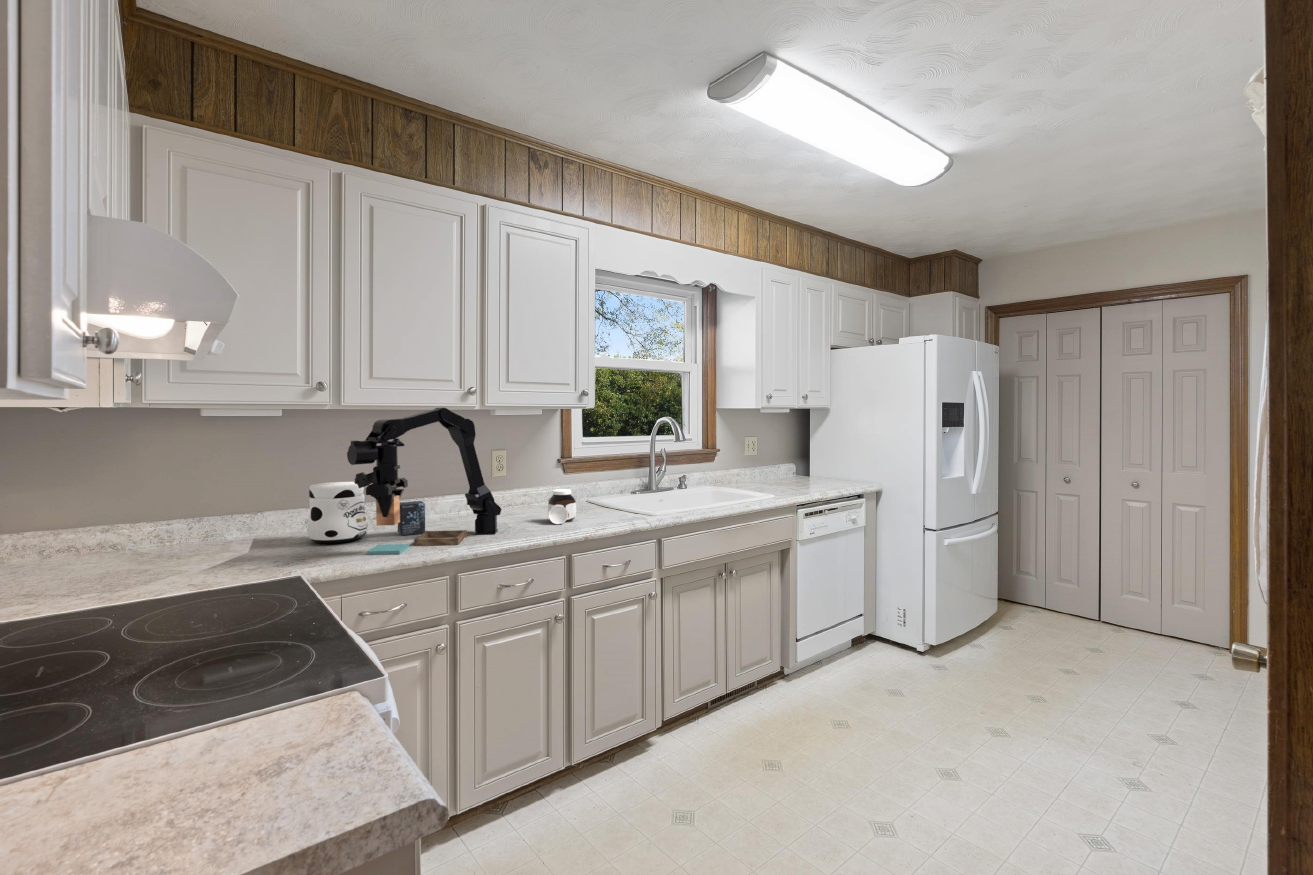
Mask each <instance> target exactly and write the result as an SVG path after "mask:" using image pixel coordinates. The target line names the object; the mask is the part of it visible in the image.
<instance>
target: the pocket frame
mask: <svg viewBox="0 0 1313 875" xmlns="http://www.w3.org/2000/svg"><path fill="white" fill-rule="evenodd" d="M466 536H467V537H468V531H467V530H466V529H463V530H461V529H459V530H425V532H424V533H423V534H419V535H418V536H417V537H415V538H414V542H413V543H414V547H418V546H419V547H420V546H423V545H426V546H458V545H460V544H461V543H462V542H463V541H464V540H465V539H466V538H467V537H466ZM431 537H432V538H431ZM433 537H437V538H433ZM465 537H466V538H465ZM464 538H465V539H464ZM463 539H464V540H463ZM423 547H424V546H423Z"/></svg>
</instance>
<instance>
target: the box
mask: <svg viewBox="0 0 1313 875" xmlns="http://www.w3.org/2000/svg"><path fill="white" fill-rule="evenodd" d="M425 531H426V503H425V502H424V501H422V500H417V501H416V500H415V501H404V502H401V501H400V522H399V523H397V533H398V535H399V536H400V537H403V536H411V535H412V536H413V535H421V534H423V533H424V532H425Z"/></svg>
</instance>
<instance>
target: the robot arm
mask: <svg viewBox="0 0 1313 875" xmlns="http://www.w3.org/2000/svg"><path fill="white" fill-rule="evenodd" d="M373 423H374V424H372V429H371V431H370V432H369V434H368V435H367V436H366V438H365V439H364V440H350V445H349V447H348V448H347V452H346V457H347V462H348V463H349V464H350V465H351V466H355V465H356V466H357V465H367V464H368V465H369V464H370V465H371V464H374V463H376V464H375V465H376V466H373V468H372V471H371V472H369V473H365V472H359V473H356V474H355V478H354V481H353V482H354V483H355V484H357V485H358V487H359V488H362V487H364V490H365V495H366V496H370V497H372V498H374V499H375V501H376V500H377V501H378V504H379V506H380V509H381V512H382V515H383V517H387V516H388V513H389V510H390V507H391V504H392V501H393V498H394V495H399V500H400V499H401V497H402V495H403V493H404V492H405V488H408V485H409V484H408V483H409V482H408V479H406V478H405V477H399V475H398V474H399V473H398V472H399V469H401V465H400V464H399V463H398V448H399V447H405V443H404V442H402V441H401V440H400V438H399V437H401V436H403V435H404V434H406V433H407V432H409V431H410V430H414V429H417V428H418V429H419V428H420V427H424V426H428V425H431V424H434V423H439V424H440V425H441V426H442V427H443V428H445V429H446V430H448V432H449V435H450V437H451V439H452V441H453V442H454V443H455V445H457V446H458V449H459V453H460V457H461V461H462V464H463V468H464V471H465V475H466V479H467V482H468V486H469V488H468V489H469V490H468V492H466V493H464V497H465V499H466V505H467V506H469V508H470V509H471V510H472V513H473V514H474V515H476V518H475V520H474V531H475V535H495V534H497V533H498V532H499V528H498V516H500V515H501V513H502V508H501V507H500V505H499V504H497V502H495V498H494V496H493V494H492V491H491V490H490V489H489V487H487V485H486V483H485V481H484V480H485V479H484V477H483V474H482V469H481V466H480V462H479V458H478V455H477V451H476V447H475V439H476V435H477V434H476V426H475V423H474V421H473V420H472V419H470V418H465V417H464V416H461V415H460V414H457V413H455V412H453V411H451V410H450V409H449V408H447V407H435V408H433V409H431V410H426V411H423V412H418V413H415V414H412V415H408V416H405V417H399V418H397V417H396V418H384V419H383V418H382V419H378V420H376V421H374V422H373ZM401 487H402V488H401Z"/></svg>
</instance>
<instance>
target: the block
mask: <svg viewBox="0 0 1313 875" xmlns="http://www.w3.org/2000/svg"><path fill="white" fill-rule="evenodd" d="M400 502H401V501H400V499H399V495H394V498H393V501H392V504H391V507H390V510H389V513H388V516H387V517H383V515H382V512H381V509H380V506H379V504H378V501H377V500H376V499H375V511H376V512H375V514H376V520H375V521H376V526H379V527H380V526H395V525H398V523H399V522H400Z"/></svg>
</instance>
